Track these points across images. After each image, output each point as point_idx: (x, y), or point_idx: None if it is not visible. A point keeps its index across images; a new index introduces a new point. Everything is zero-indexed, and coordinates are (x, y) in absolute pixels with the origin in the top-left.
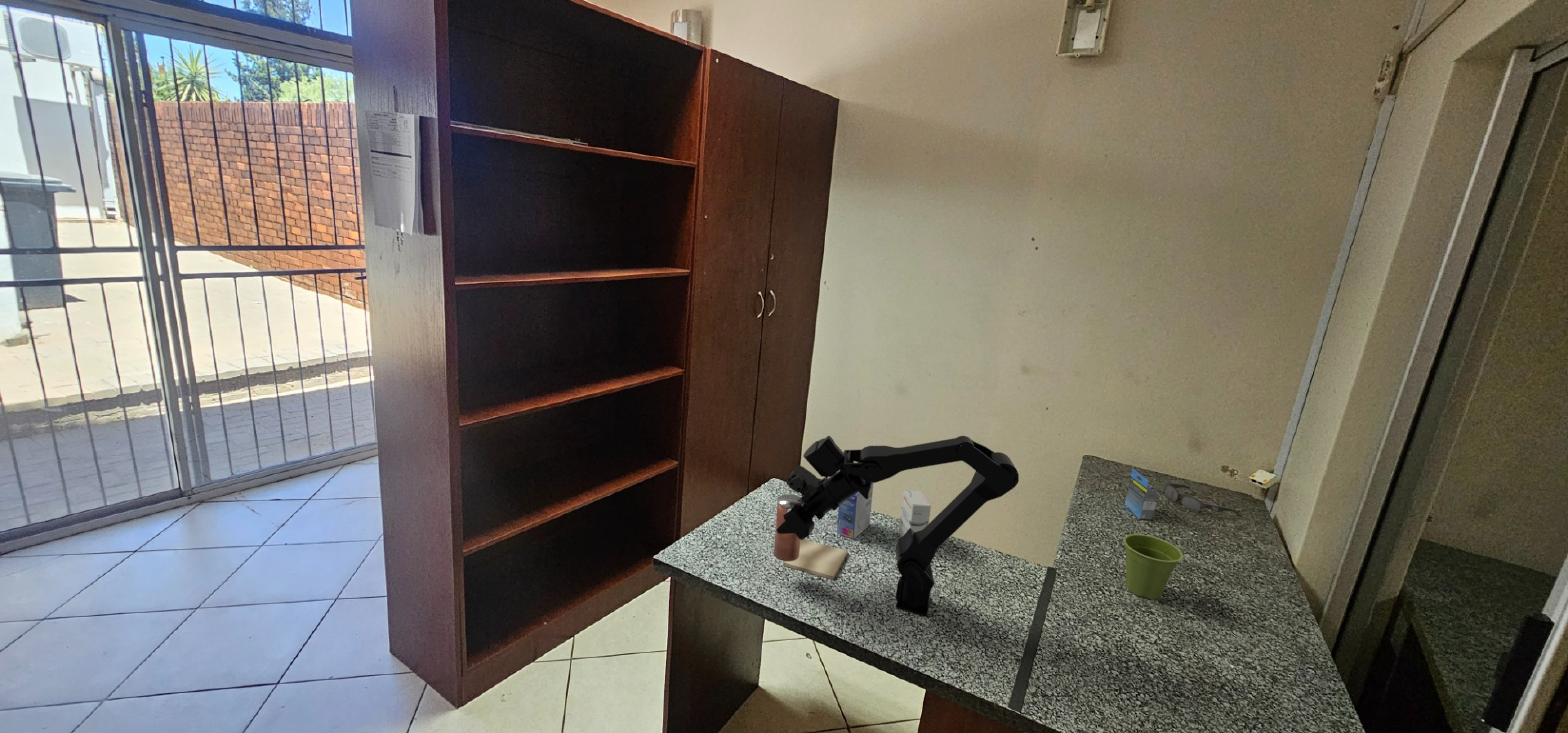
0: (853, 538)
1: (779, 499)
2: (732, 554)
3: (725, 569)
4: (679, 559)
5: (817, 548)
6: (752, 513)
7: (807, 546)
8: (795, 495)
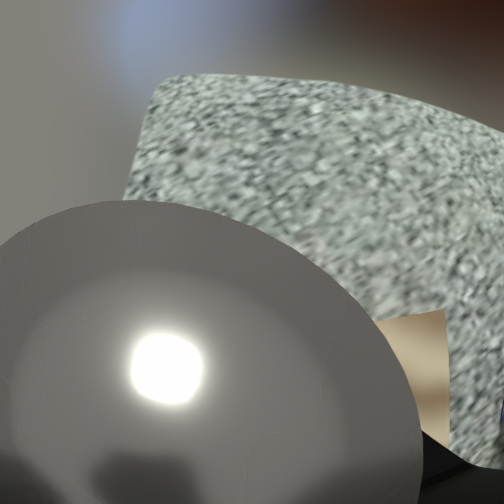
0: (502, 419)
1: (32, 262)
2: (259, 168)
3: (179, 188)
4: (171, 89)
5: (424, 381)
6: (453, 139)
7: (419, 349)
8: (409, 482)
